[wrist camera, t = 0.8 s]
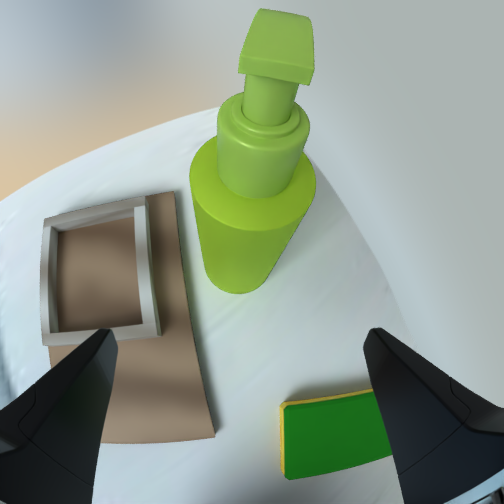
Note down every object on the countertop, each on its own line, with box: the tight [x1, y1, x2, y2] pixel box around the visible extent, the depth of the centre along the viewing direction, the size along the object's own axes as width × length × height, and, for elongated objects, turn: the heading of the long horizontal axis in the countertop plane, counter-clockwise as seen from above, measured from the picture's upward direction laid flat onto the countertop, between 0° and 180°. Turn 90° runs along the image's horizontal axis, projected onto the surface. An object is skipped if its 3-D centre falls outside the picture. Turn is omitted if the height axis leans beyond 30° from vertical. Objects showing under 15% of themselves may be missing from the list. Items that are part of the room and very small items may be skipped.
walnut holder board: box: [40, 191, 215, 444], centre depth 20 cm, size 22×14×3 cm, turn 12°
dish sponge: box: [280, 388, 392, 480], centre depth 20 cm, size 7×14×2 cm, turn 92°
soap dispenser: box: [189, 8, 316, 294], centre depth 15 cm, size 6×7×20 cm
